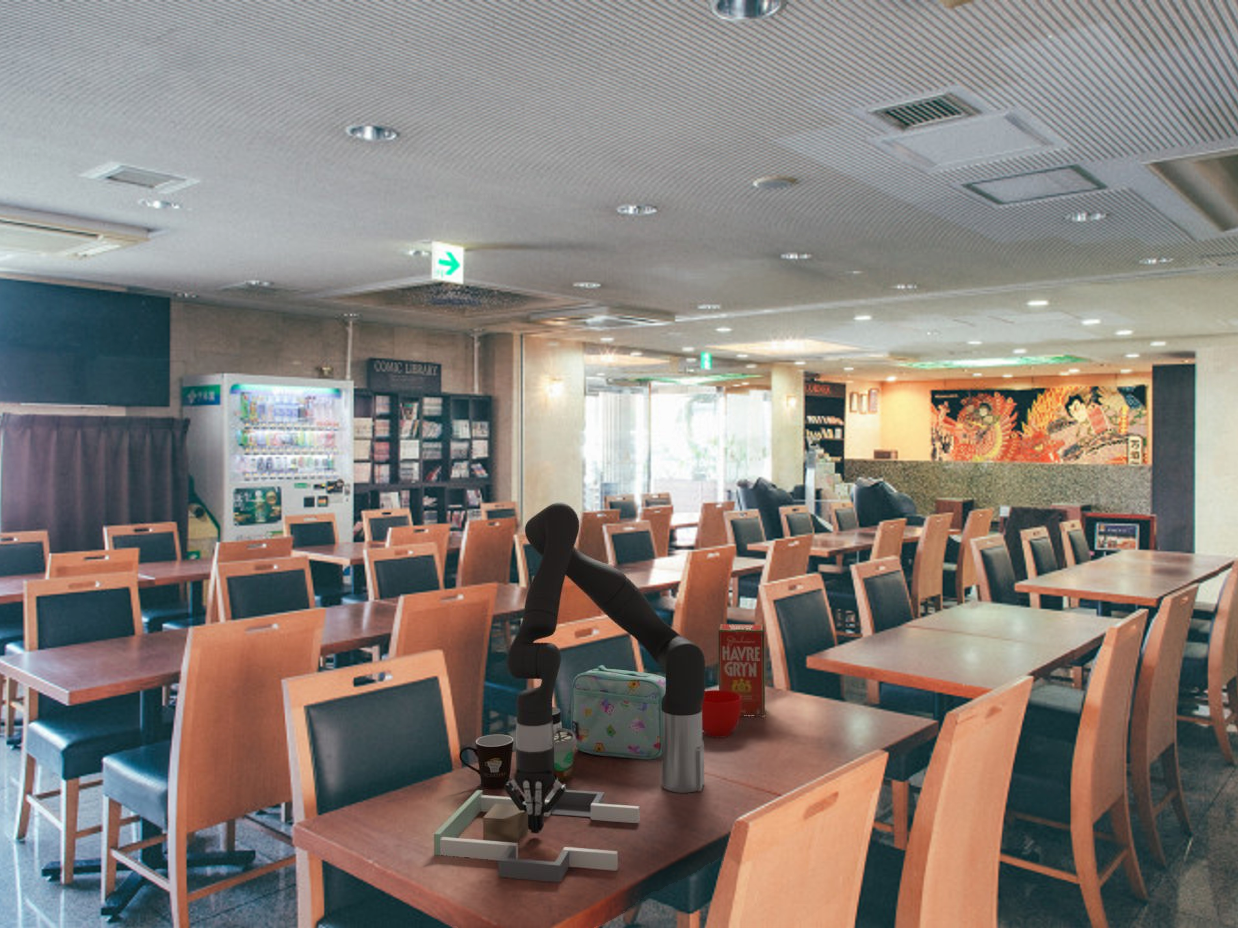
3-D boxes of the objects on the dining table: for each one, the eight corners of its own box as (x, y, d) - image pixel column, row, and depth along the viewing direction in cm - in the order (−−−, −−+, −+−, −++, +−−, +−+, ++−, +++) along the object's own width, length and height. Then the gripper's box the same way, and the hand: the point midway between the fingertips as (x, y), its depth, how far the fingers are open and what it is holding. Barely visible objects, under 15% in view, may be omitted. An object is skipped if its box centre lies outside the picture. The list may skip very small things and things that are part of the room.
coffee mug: (520, 779, 207) (519, 736, 207) (503, 792, 199) (503, 747, 199) (475, 773, 211) (475, 731, 211) (457, 786, 203) (457, 742, 203)
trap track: (644, 808, 189) (644, 790, 189) (608, 886, 155) (608, 863, 155) (487, 797, 196) (487, 779, 196) (420, 869, 162) (419, 847, 162)
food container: (569, 788, 201) (568, 744, 201) (543, 786, 202) (542, 742, 202) (582, 769, 213) (582, 728, 213) (557, 768, 214) (557, 726, 214)
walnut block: (528, 830, 179) (528, 805, 179) (517, 845, 172) (517, 819, 172) (495, 828, 181) (495, 803, 181) (483, 842, 174) (483, 817, 174)
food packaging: (718, 715, 256) (717, 628, 256) (720, 706, 265) (719, 622, 265) (765, 717, 254) (764, 629, 254) (765, 708, 263) (764, 623, 263)
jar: (522, 762, 219) (521, 713, 218) (535, 752, 226) (534, 705, 226) (556, 766, 216) (555, 716, 216) (568, 755, 224) (567, 707, 224)
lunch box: (563, 753, 225) (562, 668, 225) (580, 740, 235) (579, 659, 235) (663, 765, 215) (662, 677, 215) (676, 752, 225) (675, 667, 225)
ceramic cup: (688, 722, 250) (687, 687, 250) (747, 729, 243) (746, 692, 243) (672, 736, 238) (672, 698, 238) (734, 743, 231) (734, 704, 231)
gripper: (572, 739, 178) (573, 826, 178) (509, 736, 180) (510, 821, 181) (562, 751, 170) (563, 842, 171) (496, 748, 173) (497, 836, 173)
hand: (536, 831), depth 176 cm, fingers closed
